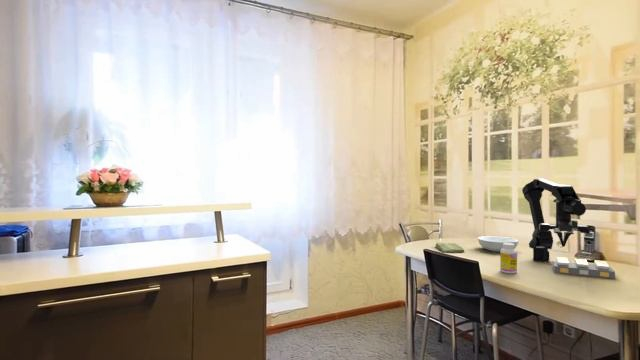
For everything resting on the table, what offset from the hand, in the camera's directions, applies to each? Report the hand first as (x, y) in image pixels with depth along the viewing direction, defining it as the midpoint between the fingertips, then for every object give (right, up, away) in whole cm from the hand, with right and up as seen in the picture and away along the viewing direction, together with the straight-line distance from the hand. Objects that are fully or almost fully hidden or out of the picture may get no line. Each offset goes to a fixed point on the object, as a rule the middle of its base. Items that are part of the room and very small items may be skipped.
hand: (563, 246), depth 160 cm
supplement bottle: (-26, -11, -2) cm, 28 cm away
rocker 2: (+5, -6, -5) cm, 9 cm away
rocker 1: (-1, -6, -2) cm, 7 cm away
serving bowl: (-8, -11, +42) cm, 44 cm away
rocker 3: (+11, -6, -8) cm, 15 cm away
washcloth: (-35, -11, +47) cm, 59 cm away
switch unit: (+5, -11, -5) cm, 13 cm away
